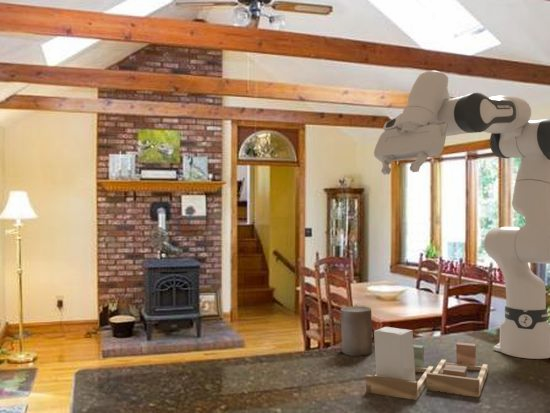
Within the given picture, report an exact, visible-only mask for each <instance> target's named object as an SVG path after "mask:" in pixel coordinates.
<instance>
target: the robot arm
mask: <svg viewBox="0 0 550 413" xmlns="http://www.w3.org/2000/svg"><path fill="white" fill-rule="evenodd" d="M448 85H449V77H448V75H447V74H445V73H444V72H442V71H438V70H428V71H425V72H424V71H423V72H421V73H420V74H419V76H417V78H416V79H415V81H414V84H413V85H412V87H411V90H410V93H409V95H408V97H407V104H406V105H405V107H404V108H403V111H402V113H400V114H398V115H397V116H396V117H394V118H392V119H391V120H388V121H387V122H385V123H384V125H383V127H382V129H383V130H384V131H383V132H382V133H381V134H380V136H379V137H378V140H377V143H376V144H375V147H374V150H373V156H374V157H375V158H376V159H377V160H378V161H380V162H381V163H382V168H381V170H380V172H381V173H382V174H383V175H385V176H386V175H390V174H391V172H392V168H391V167H390V164H392V162H395V161H396V162H397V161H404V160H413V159H414V162H411V163H410V166H409V170H410V171H411V172H412V173H419V171H420V170H421V169H420V168H421V167H422V166H423V164H424V163H425V162H426V161H427V159H428V158H431V157H439V156H440V155H441V154H442V153H443V150H444V147H445V144H446V137H451V136H457V135H464V134H473V133H474V134H475V133H482V132H484V133H488V134H490V138H489V148H490V150H491V152H492V153H493V154H494V155H495V157H497V158H501V159H510V158H514V159H516V158H517V159H520V164H519V166H518V170H517V173H516V177H515V182H514V189H513V194H512V199H511V200H512V201H511V204H512V208H513V210H514V211H515V212H516V213H517V214H518V215H520V216H521V217H524V223H525V224H524V226H500V227H496V228H492V229H489V231H488V232H487V233H486V234H485V237H484V241H483V246H484V250H485V252H486V254H487V255H488V256H489V257H490V258H492V259H493V261H494V262H495V263H496V264H497V266H498V267H499V270H500V271H501V274H502V276H503V280H504V284H505V285H504V286H505V298H506V299H505V300H506V302H505V303H506V305H505V306H504V317H505V319H504V320H503V321H502V322H501V323H500V324H499V342H498V343H497V344H495V345H494V346H493V351H496V352H500V353H502V354H505V355H508V356H512V357H515V358H516V357H517V358H523V359H531V360H534V359H536V360H543V359H549V358H550V324H549V323H548V320H549V318H548V316H549V312H548V308H547V307H546V306H547V305H546V304H547V302H546V301H547V299H546V298H547V295H546V284H545V282H544V280H543V279H542V278H541V277H539V276H538V275H536V274H535V273H534V272H533V270H531V268H530V266H529V263H530V264H543V265H547V264H548V265H549V264H550V118H543V119H537V120H536V119H535V120H534V119H532V120H530V119H531V117H532V109H531V106H530V104H529V103H528V102H527V101H526V100H525V99H522V98H520V97H517V96H513V95H512V96H511V95H496V96H490V97H488V96H487V95H485V94H483V93H482V92H478V91H475V92H472V93H468V94H465V95H463V96H457V97H454V98H451V96H450V94H449V90H448Z"/></svg>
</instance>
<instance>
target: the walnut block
mask: <svg viewBox="0 0 550 413" xmlns="http://www.w3.org/2000/svg"><path fill="white" fill-rule="evenodd" d="M442 374H444V375H452V376H460V377H468V369H467V367H465V366H456V365H447V364H446V366H445V368H444V369H443V373H442Z"/></svg>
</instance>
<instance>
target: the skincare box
mask: <svg viewBox="0 0 550 413" xmlns="http://www.w3.org/2000/svg"><path fill="white" fill-rule="evenodd" d="M373 335H374V336H373V338H374V356H375V357H374V359H375V375H376V376H381V377H389V378H396V379H404V380H411V381H417V380H416V371H415V363H414V346H413V345H414V332H413V329H406V328H397V327H390V326H384V327H381V328H379V329H375V330H373Z"/></svg>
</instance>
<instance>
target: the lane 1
mask: <svg viewBox="0 0 550 413" xmlns="http://www.w3.org/2000/svg"><path fill="white" fill-rule="evenodd" d="M413 346H414V363H415V373H417V372H418V373H423V374H422V375H421V377H420V378H419V379H418V380H416V381H411V380H404V379H396V378H389V377H381V376H376V374H375V375H372V374H366V375H365V393H368V394H375V395H382V396H386V397H387V396H388V397H395V398H401V399H407V400H415V401H417V400H418V398H419V397H420V395H421V394H422V392H423V391H424V390H425V388H426V387H427V372H428V373H433V372H434V370H435V368H434V367H435V366H434V365H429V366H428V367H425V346H424V345H420V344H413Z"/></svg>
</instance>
